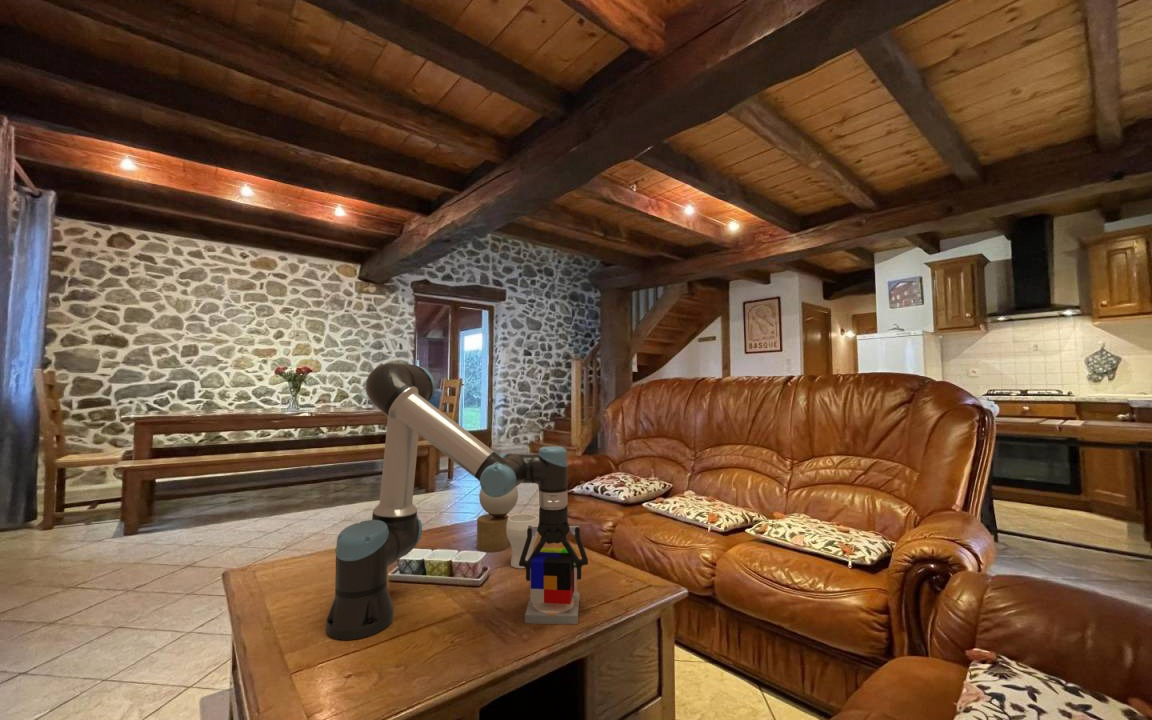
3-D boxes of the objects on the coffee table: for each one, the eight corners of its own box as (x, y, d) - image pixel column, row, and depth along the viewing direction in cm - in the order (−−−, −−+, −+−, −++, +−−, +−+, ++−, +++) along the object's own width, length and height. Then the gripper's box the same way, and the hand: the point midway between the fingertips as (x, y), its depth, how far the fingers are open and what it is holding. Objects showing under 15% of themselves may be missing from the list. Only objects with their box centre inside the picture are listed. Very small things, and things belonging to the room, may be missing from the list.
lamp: (504, 536, 178) (505, 471, 179) (525, 545, 167) (525, 476, 168) (469, 545, 168) (470, 476, 169) (488, 556, 157) (489, 482, 159)
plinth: (524, 623, 112) (525, 614, 113) (532, 598, 125) (532, 590, 126) (577, 624, 112) (577, 614, 112) (579, 599, 125) (579, 591, 125)
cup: (503, 560, 154) (504, 514, 154) (534, 556, 157) (534, 511, 158) (508, 572, 143) (509, 523, 144) (541, 568, 147) (541, 520, 148)
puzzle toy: (530, 602, 115) (530, 561, 115) (538, 585, 124) (538, 547, 125) (570, 604, 113) (570, 563, 114) (575, 586, 123) (574, 548, 124)
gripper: (507, 510, 116) (507, 600, 115) (598, 509, 117) (599, 597, 116) (510, 503, 124) (510, 587, 122) (596, 502, 124) (596, 585, 123)
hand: (553, 592), depth 119 cm, fingers closed on puzzle toy, 11 cm apart
